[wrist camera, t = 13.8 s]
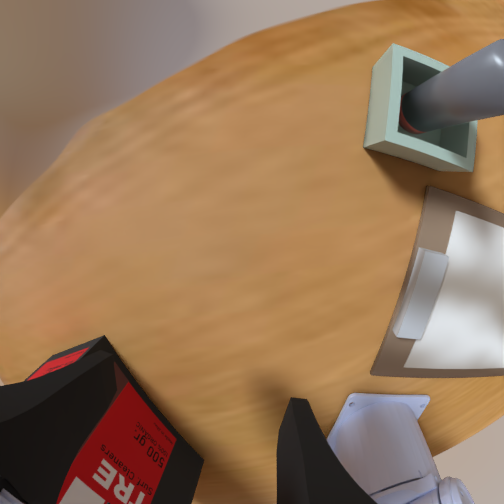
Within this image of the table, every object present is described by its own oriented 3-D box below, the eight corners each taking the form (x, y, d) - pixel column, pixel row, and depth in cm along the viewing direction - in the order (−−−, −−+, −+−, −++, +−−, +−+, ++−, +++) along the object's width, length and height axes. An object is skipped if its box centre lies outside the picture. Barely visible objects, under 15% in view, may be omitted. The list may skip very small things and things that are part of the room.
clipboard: (511, 372, 19) (517, 379, 17) (369, 372, 20) (373, 383, 18) (560, 241, 15) (569, 245, 14) (426, 185, 16) (436, 186, 15)
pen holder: (439, 171, 16) (473, 172, 12) (363, 147, 16) (384, 140, 12) (446, 94, 14) (477, 81, 10) (372, 67, 15) (393, 43, 11)
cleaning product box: (204, 459, 24) (155, 619, 5) (142, 463, 26) (84, 589, 7) (104, 335, 21) (-53, 506, 2) (52, 355, 23) (-69, 474, 4)
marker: (428, 139, 15) (541, 122, 5) (392, 127, 15) (495, 88, 5) (431, 102, 14) (536, 61, 4) (396, 89, 14) (489, 26, 5)
